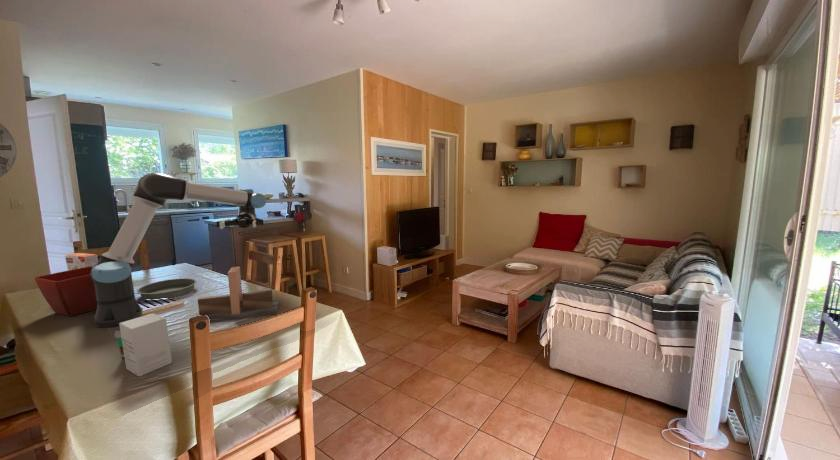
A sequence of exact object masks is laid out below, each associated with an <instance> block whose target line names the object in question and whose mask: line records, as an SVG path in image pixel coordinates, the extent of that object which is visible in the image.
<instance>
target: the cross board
mask: <svg viewBox="0 0 840 460" xmlns="http://www.w3.org/2000/svg"><path fill="white" fill-rule="evenodd" d="M279 304H280V300H274V297H273V289H269V290H268V289H267V290H259V291H249V292H242V301H240V309H241V312H240V314H232V312H231V302H230V293H229V294H221V295H211V296H210V295H209V296H202V297H198V299H197V305H198V311H197V312H196V313H195V314H194V316H193V317H195V316H198V315H207V316H208V317H209V319H210V322H209V323H213V322H223V321H231V320H238V319H245V318H247V319H248V318H257V317H263V316H271V315H277V314H278V309H279V307H280V306H279Z"/></svg>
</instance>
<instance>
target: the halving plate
mask: <svg viewBox="0 0 840 460" xmlns="http://www.w3.org/2000/svg"><path fill="white" fill-rule="evenodd" d="M227 278H228V288H229V294H230V302H231V312H232V314H240V312H241V309H240V301H242V293H243V286H242V277H241V267H240V266H232V267H231V268H230V269H229V270H228V272H227Z"/></svg>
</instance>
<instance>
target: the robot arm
mask: <svg viewBox="0 0 840 460" xmlns="http://www.w3.org/2000/svg"><path fill="white" fill-rule="evenodd" d="M132 198H133V200H134V201H133V204H132V205H131V207H130V209H129V211H128V213H127V215H126V217H125V219H124V221H123V223H122V224H121V226H120V229H119V230H118V232H117V234H116V236H115V238H114V240H113V242H112V244H111V246H110V247H109V249H108V251H107V252H104V253H101V254H100V255H101V256H100V257H99V258H98V262H97V264H96V265H95V266H94V267H93V268H92V270H91V273H90V275H91V280H92V281H93V284H94V288H95V294H96V300H97V309H95V313H94V317H93V325H94V327H95V328H109V327H110V328H111V327H112V328H113V327H117V326H120V325H119V323H121V322H125V321H128V320H132V319H135V318H138V317H142V316H144V314H142V313H143V309H142V308H141V306H140V304H139V303H138V301H137V300H136V295H135V290H134V289H135V288H134V282H133V277H132V274H133V273H132V272H133V271H132V269H133V267H134V265H135V260H134V259H133V257H134V255H136V251H137V250H138V248H139V246H140V244H141V242H142V240H143V238H144V236H145V234H146V232H147V230H148V228H149V226H150V225H151V222H152V220H153V218H154V217H155V215H156V213H157V211H158V209H160V208H161V209H162V208H163V207H164V206H165V204H166V201H167V200H174V201H175V200H177V201H184V200H186V199H187V200H188V199H189V200H194V201H201V202H202V201H203V202H208V203H209V202H210V203H216V204H225V205H232V206H239V207H238V208H239V214H238V215H237V216H236V217H235V218H232V219H231V218H228V219H224V220H219V221H218V220H217V221H216V227H217V228H219V229H220V230H223V229H224V228H226V227H230V226H231V227H232V226H233V227H236V226H237V227H239V228H240V229H241V228H242V229H247V228H249V227H250V226H252V228H256V227H257V226H260V225H261V226H263V225H264V219H262V218H259V217H257V214H256V209H262V208H264V207H265V206H266V204H267V198H266V196H265V195H264V194H262V193H259V192H254V189H253V188H239V189H233V188H228V187H220V186H216V185H209V184H202V183H197V182H191V181H188V180H187V179H186V178H181V177H176V176H172V175H170V174H165V173H162V172H151V173H146V174H145V175H143V176H141V177H140V178H139V180H138V181H137V186H136V189H135V190H134V193H133V194H132Z"/></svg>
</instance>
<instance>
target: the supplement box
mask: <svg viewBox="0 0 840 460" xmlns="http://www.w3.org/2000/svg"><path fill="white" fill-rule="evenodd" d="M118 326H119V331H120V332H121V338H122V344H123V350H124V357H125V359H124V362H125V363H124V364H125V369H126V370H128V371H129V372H131V373H132V374H134V375H135V376H137V377H142V376H144V375H146V374H148V373H151V372H154V371H157V370H158V369H161V368H163V367H166V366H168V365H170V364H172V363H173V359H172V350H171V344H170V337H169V332H168V331H169V330H168V323H167V318H166V317H163V316H161V315H158V314H156V313H154V312H153V313H149V314H146V315H143V316H142V317H138V318H135V319H132V320H128V321H125V322H121V323H119V325H118Z"/></svg>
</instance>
